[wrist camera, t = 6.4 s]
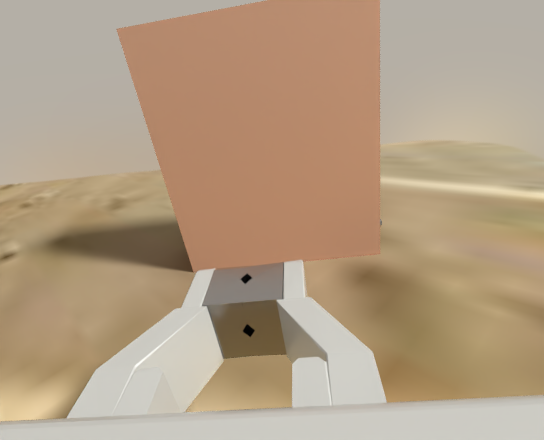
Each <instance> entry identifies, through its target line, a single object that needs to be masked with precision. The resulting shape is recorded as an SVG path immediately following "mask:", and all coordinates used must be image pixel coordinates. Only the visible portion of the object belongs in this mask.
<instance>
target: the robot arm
mask: <svg viewBox="0 0 544 440" xmlns="http://www.w3.org/2000/svg"><path fill="white" fill-rule="evenodd" d="M269 355H287V357H288V358H289V360H290V361H291V363H292V407H285V408H265V409H244V410H224V411H203V412H185V411H186V409H187V408H188V407H189V405H190V404H191V403H192V401H193V400H194V399H195V398H196V396H197V395H198V394H199V392H200V391H201V390H202V389H203V387H204V386H205V385H206V383H207V382H208V381H209V379H210V378H211V377H212V376H213V374H214V373H215V372H216V370H217V369H218V368H219V367H220V365H221V364H222V363H223V361H224V360H223V359H229V358H240V357H250V356H269ZM0 440H544V395H530V396H510V397H489V398H469V399H448V400H428V401H408V402H387V401H386V398H385V394H384V391H383V387H382V383H381V380H380V376H379V373H378V369H377V366H376V362H375V358H374V355H373V352H372V351H371V350H370V349H369V348H368V347H366V346H365V345H364V344H363V343H362V342H361V341H360V340H359V339H357V338H356V337H355V336H354V335H353V334H352V333H351V332H349V331H348V330H347V329H346V328H345V327H344V326H343V325H342V324H340V323H339V322H338V321H337V320H336V319H335V318H334V317H333V316H331V315H330V314H329V313H328V312H327V311H326V310H325V309H323V308H322V307H321V306H320V305H319V304H318V303H317V302H316V301H314V300H313V299H312V298H311V297H307V289H306V281H305V273H304V265H303V261H302V259H301V260H294V261H287V262H281V263H272V264H264V265H256V266H239V267H226V268H216V269H215V268H213V269H204V270H199V271H197V272H196V274H195V276H194V279H193V281H192V283H191V286H190V288H189V290H188V293H187V295H186V297H185V300H184V302H183V304H182V307H181V308H178V309H175V310H173V311H172V312H171V313H169V314H168V315H167V316H165V317H164V318H163V319H162V320H160V321H159V322H158V323H156V324H155V325H154V326H152V327H151V328H150V329H148V330H147V331H146V332H145V333H143V334H142V335H141V336H139V337H138V338H137V339H135V340H134V341H133V342H132V343H130V344H129V345H128V346H126V347H125V348H124V349H122V350H121V351H120V352H118V353H117V354H116V355H115V356H113V357H112V358H111V359H109V360H108V361H107V362H105V363H104V364H103V365H101V366H100V367H99V368H98V369H96V371H95V372H94V374H93V375H92V377H91V379H90V380H89V382H88V384H87V385H86V387H85V388H84V390H83V392H82V393H81V395H80V397H79V398H78V400H77V401H76V403H75V405H74V406H73V408H72V410H71V411H70V413H69V414H68V416H67V418H62V419H42V420H21V421H1V422H0Z"/></svg>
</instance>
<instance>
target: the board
mask: <svg viewBox="0 0 544 440" xmlns="http://www.w3.org/2000/svg"><path fill="white" fill-rule="evenodd" d="M117 32H118V35H119V39H120V42H121V45H122V48H123V51H124V54H125V58H126V60H127V64H128V67H129V70H130V73H131V77H132V80H133V83H134V86H135V89H136V92H137V95H138V99H139V101H140V105H141V108H142V111H143V114H144V117H145V121H146V124H147V127H148V130H149V133H150V136H151V140H152V143H153V146H154V149H155V152H156V155H157V158H158V162H159V165H160V168H161V171H162V174H163V178H164V181H165V184H166V187H167V190H168V193H169V196H170V200H171V203H172V206H173V209H174V212H175V215H176V219H177V222H178V225H179V228H180V231H181V234H182V237H183V241H184V244H185V247H186V250H187V253H188V256H189V260H190V263H191V266H192V269H193V272H197V271H199V270H204V269H213V268H215V269H216V268H226V267H239V266H256V265H264V264H272V263H281V262H287V261H294V260H301V259H302V261H303V262H304V261H314V260H324V259H334V258H345V257H355V256H365V255H375V254H380V0H267V1H261V2H256V3H251V4H245V5H240V6H235V7H230V8H225V9H219V10H214V11H208V12H203V13H198V14H193V15H188V16H182V17H177V18H172V19H167V20H161V21H156V22H151V23H146V24H140V25H135V26H130V27H124V28H119V29H117Z"/></svg>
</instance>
